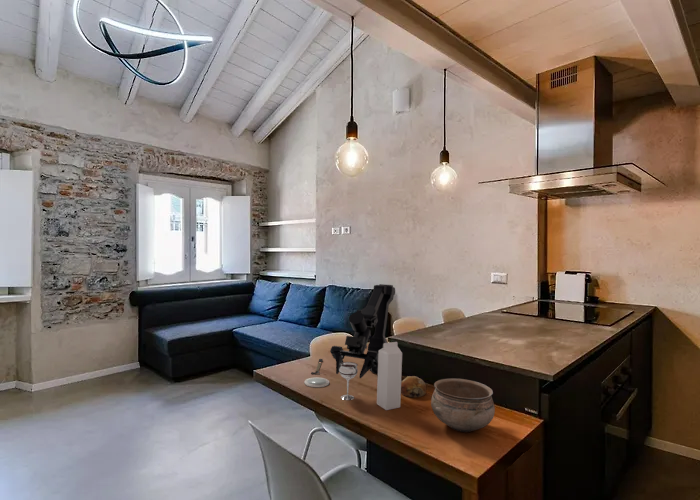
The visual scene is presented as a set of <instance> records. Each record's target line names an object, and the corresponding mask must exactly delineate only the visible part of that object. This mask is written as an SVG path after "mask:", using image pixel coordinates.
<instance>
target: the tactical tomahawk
mask: <svg viewBox="0 0 700 500" xmlns="http://www.w3.org/2000/svg"><path fill="white" fill-rule="evenodd" d="M323 361H324V358H319V359H318V361H317V362H318V363H317V365H316V369H315V371H314V372H313V371H311V373H310V374H311V375H315V376H316V375H317V376H321V375H320V374H321V373H320V368H321V366H322V364H321V363H319V362H322V363H323Z"/></svg>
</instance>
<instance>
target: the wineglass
mask: <svg viewBox="0 0 700 500" xmlns="http://www.w3.org/2000/svg"><path fill="white" fill-rule="evenodd" d="M358 366H359V364H358V363H356V362H353V361H343V362H342V363H340V368H339V375H340V376H341V377H342V378H343V379H345V380H346V394H344V395H341V396H340V399H342V400H344V401H351V400H354V399H355V396H354V395H350V394H349V386H350V381H351V379H353V378H355V377H356V376H357V374H358Z"/></svg>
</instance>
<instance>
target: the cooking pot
mask: <svg viewBox="0 0 700 500" xmlns="http://www.w3.org/2000/svg"><path fill="white" fill-rule="evenodd" d="M433 387H434V390H433V393H432V396H431V400H430V406H431V408H432V411H433V414H434V415H435V416H436V418H437V419H438V420H439V421H440V422H442V423H443V424H445V425H446V426H448V427H449V428H451V430H454V431H456V432H459V431H460V433H471V432H472V431H476V430H477V431H478V430H480V429H482V428H485V427H486V426H488V425H489V424H490V423H491V422H492V420H493V419H494V416H495V412H496V411H495V410H496V409H495V403H494V400H493V396H492V395H493V394H494V392H493V389H492V388H490V386H487V385H486V384H483V383H481V382H478V381H475V380H470V379H466V378H465V379H464V378H441V379H438V380H437V381H435V382H434V383H433Z"/></svg>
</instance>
